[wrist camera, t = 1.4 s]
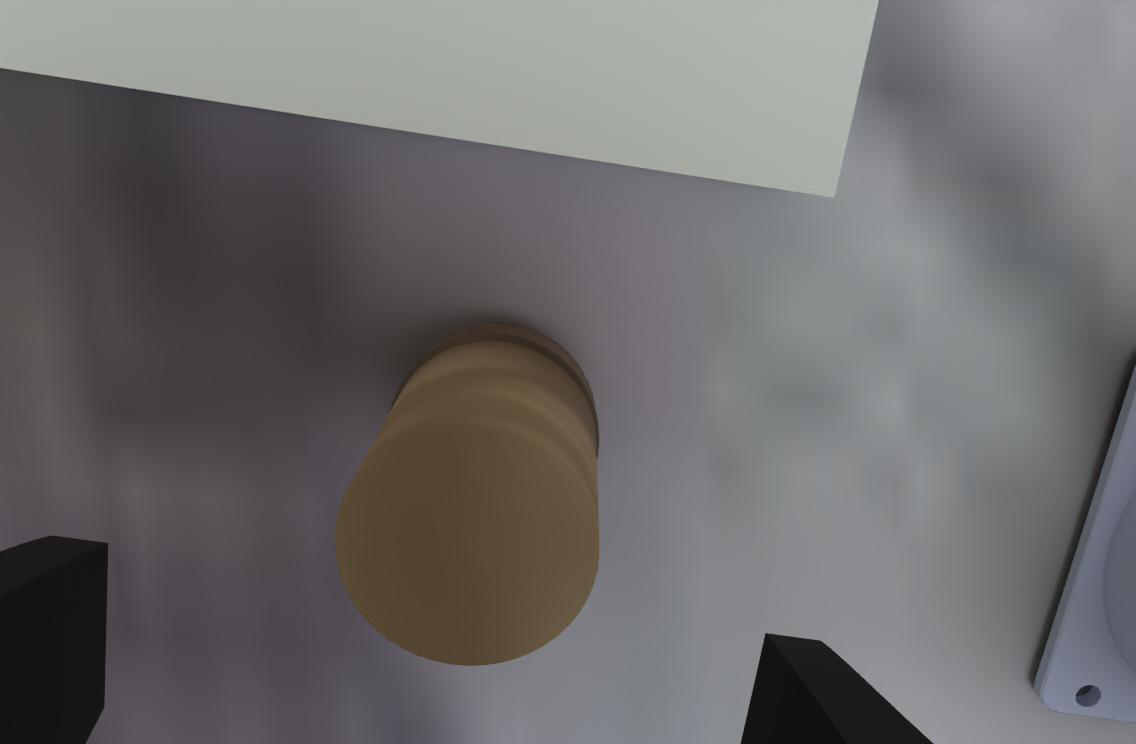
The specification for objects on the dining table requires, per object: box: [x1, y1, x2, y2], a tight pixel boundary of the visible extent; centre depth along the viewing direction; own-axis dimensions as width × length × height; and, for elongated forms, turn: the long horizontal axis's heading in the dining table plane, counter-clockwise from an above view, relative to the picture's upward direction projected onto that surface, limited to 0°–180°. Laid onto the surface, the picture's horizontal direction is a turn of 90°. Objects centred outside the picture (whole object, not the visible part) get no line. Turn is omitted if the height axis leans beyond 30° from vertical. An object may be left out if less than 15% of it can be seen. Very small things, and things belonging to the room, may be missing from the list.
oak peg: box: [335, 323, 599, 666], centre depth 18 cm, size 4×4×7 cm
